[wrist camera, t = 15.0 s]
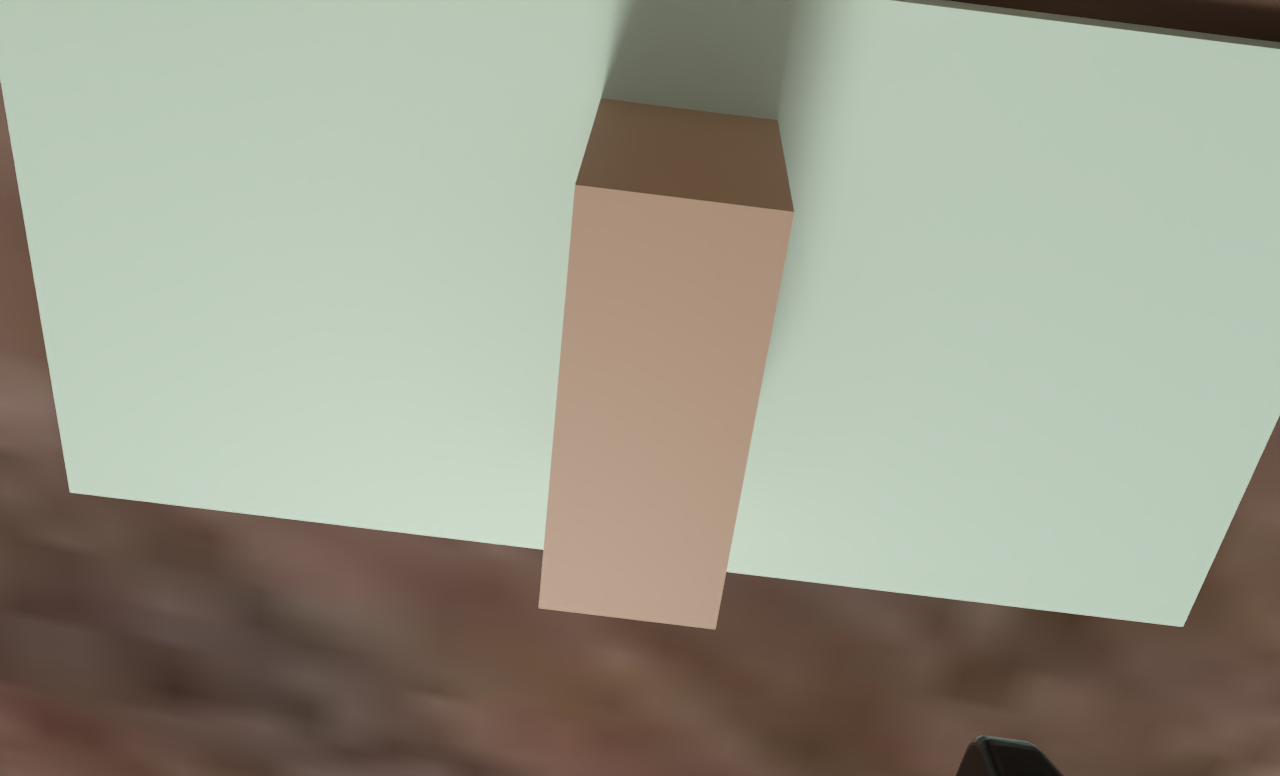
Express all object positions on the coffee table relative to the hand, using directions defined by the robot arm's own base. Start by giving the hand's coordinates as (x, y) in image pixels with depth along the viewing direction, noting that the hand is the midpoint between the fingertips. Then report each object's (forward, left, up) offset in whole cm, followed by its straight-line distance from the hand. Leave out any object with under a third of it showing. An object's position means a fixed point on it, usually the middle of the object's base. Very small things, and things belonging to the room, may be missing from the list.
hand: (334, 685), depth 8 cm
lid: (-1, +3, -13) cm, 14 cm away
